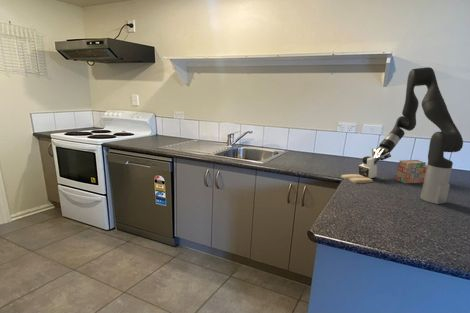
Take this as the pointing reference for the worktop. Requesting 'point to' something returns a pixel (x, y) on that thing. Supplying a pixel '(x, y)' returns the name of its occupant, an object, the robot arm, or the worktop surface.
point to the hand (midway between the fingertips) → (372, 163)
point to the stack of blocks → (411, 171)
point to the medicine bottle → (368, 168)
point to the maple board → (356, 178)
